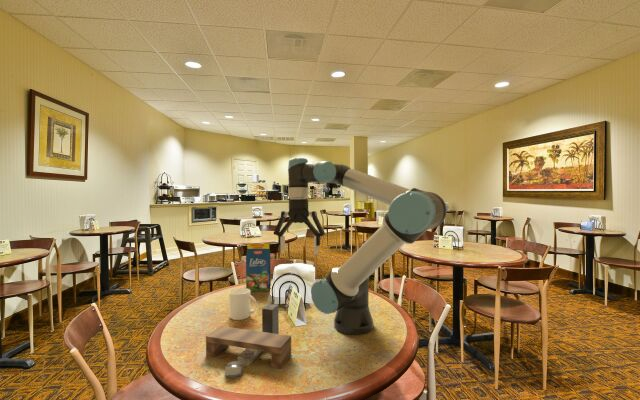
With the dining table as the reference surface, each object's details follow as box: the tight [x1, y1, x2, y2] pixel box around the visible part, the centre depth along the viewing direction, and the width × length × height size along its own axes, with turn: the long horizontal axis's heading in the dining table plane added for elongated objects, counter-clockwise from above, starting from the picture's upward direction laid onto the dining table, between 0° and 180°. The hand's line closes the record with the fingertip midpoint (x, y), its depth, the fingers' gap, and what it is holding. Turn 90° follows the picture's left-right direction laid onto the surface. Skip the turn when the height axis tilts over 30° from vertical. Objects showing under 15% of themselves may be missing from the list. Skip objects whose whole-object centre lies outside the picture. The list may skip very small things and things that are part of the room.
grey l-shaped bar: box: [237, 303, 280, 366], centre depth 103 cm, size 21×4×11 cm, turn 163°
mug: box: [228, 287, 258, 321], centre depth 129 cm, size 9×12×11 cm
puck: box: [224, 360, 244, 380], centre depth 88 cm, size 5×5×2 cm
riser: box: [205, 325, 292, 370], centre depth 98 cm, size 26×8×6 cm, turn 73°
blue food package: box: [245, 243, 272, 292], centre depth 166 cm, size 6×12×25 cm, turn 89°
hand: (299, 253), depth 118 cm, fingers open, 13 cm apart
